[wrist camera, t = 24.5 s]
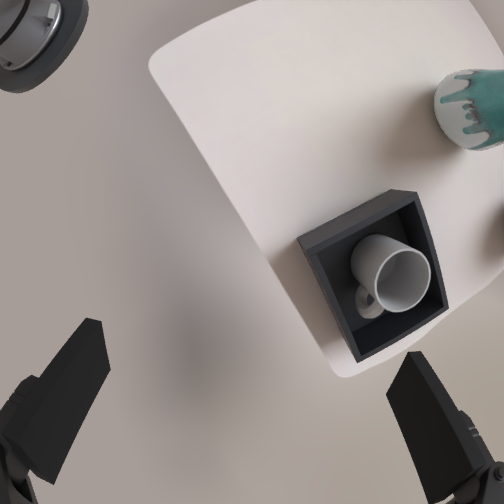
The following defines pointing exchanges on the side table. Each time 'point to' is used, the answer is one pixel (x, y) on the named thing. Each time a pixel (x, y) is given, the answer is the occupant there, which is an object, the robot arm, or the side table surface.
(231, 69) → the side table surface
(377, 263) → the cup
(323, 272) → the open box
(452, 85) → the vase
